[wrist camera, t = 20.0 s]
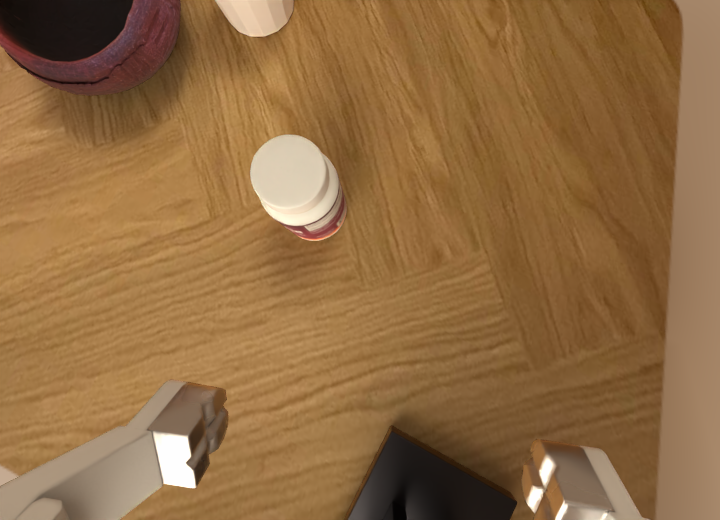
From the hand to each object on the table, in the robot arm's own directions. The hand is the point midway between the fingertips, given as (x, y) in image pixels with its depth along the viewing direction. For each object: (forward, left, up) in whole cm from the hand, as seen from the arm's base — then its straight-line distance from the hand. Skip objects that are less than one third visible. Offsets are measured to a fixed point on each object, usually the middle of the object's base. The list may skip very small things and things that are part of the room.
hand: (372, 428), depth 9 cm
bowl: (+22, -25, -16) cm, 37 cm away
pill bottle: (+5, -10, -16) cm, 20 cm away
